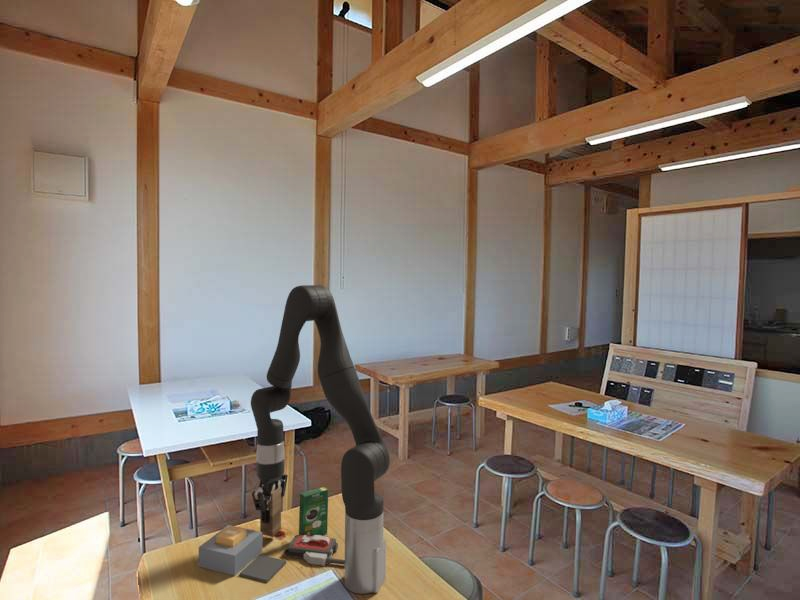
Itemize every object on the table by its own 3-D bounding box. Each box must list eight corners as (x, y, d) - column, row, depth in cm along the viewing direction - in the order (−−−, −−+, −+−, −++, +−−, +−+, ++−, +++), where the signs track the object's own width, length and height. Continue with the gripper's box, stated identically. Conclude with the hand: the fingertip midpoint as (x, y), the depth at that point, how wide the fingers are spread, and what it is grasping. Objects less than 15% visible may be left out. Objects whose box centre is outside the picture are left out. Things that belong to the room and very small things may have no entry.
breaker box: (262, 550, 117) (262, 532, 117) (234, 575, 107) (235, 555, 107) (228, 542, 121) (228, 524, 120) (198, 566, 110) (198, 546, 110)
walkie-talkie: (279, 562, 113) (354, 571, 110) (279, 545, 113) (354, 554, 110) (293, 543, 122) (363, 550, 118) (293, 527, 121) (363, 534, 118)
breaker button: (246, 544, 115) (246, 528, 115) (233, 555, 110) (233, 539, 110) (230, 540, 117) (230, 525, 117) (216, 551, 112) (216, 535, 112)
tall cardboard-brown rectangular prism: (281, 529, 124) (280, 487, 124) (272, 536, 120) (272, 493, 120) (268, 526, 125) (268, 485, 125) (260, 534, 121) (260, 491, 121)
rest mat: (286, 563, 112) (286, 560, 112) (267, 582, 104) (267, 580, 104) (259, 556, 114) (259, 554, 114) (239, 575, 107) (239, 573, 107)
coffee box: (323, 529, 128) (324, 485, 128) (328, 533, 126) (329, 488, 125) (298, 538, 123) (298, 492, 123) (302, 543, 121) (303, 496, 120)
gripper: (266, 469, 114) (266, 534, 115) (295, 450, 128) (296, 508, 128) (242, 465, 117) (243, 529, 117) (273, 447, 130) (274, 505, 131)
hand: (270, 518), depth 123 cm, fingers closed on tall cardboard-brown rectangular prism, 4 cm apart
